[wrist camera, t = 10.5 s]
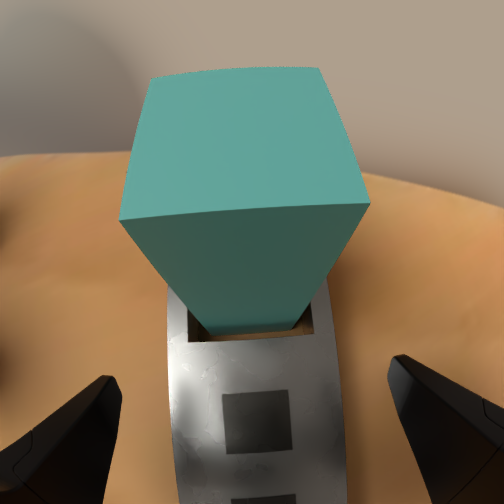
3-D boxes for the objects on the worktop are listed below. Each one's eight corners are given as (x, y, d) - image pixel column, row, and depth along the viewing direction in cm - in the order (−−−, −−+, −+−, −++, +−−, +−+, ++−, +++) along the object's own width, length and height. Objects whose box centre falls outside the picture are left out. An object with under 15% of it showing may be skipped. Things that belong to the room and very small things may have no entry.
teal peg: (290, 330, 17) (370, 202, 5) (211, 335, 17) (118, 219, 5) (282, 257, 19) (318, 67, 7) (209, 262, 19) (151, 78, 7)
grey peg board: (333, 534, 11) (346, 556, 9) (199, 544, 11) (190, 568, 8) (303, 217, 20) (311, 190, 17) (182, 225, 20) (171, 199, 17)
